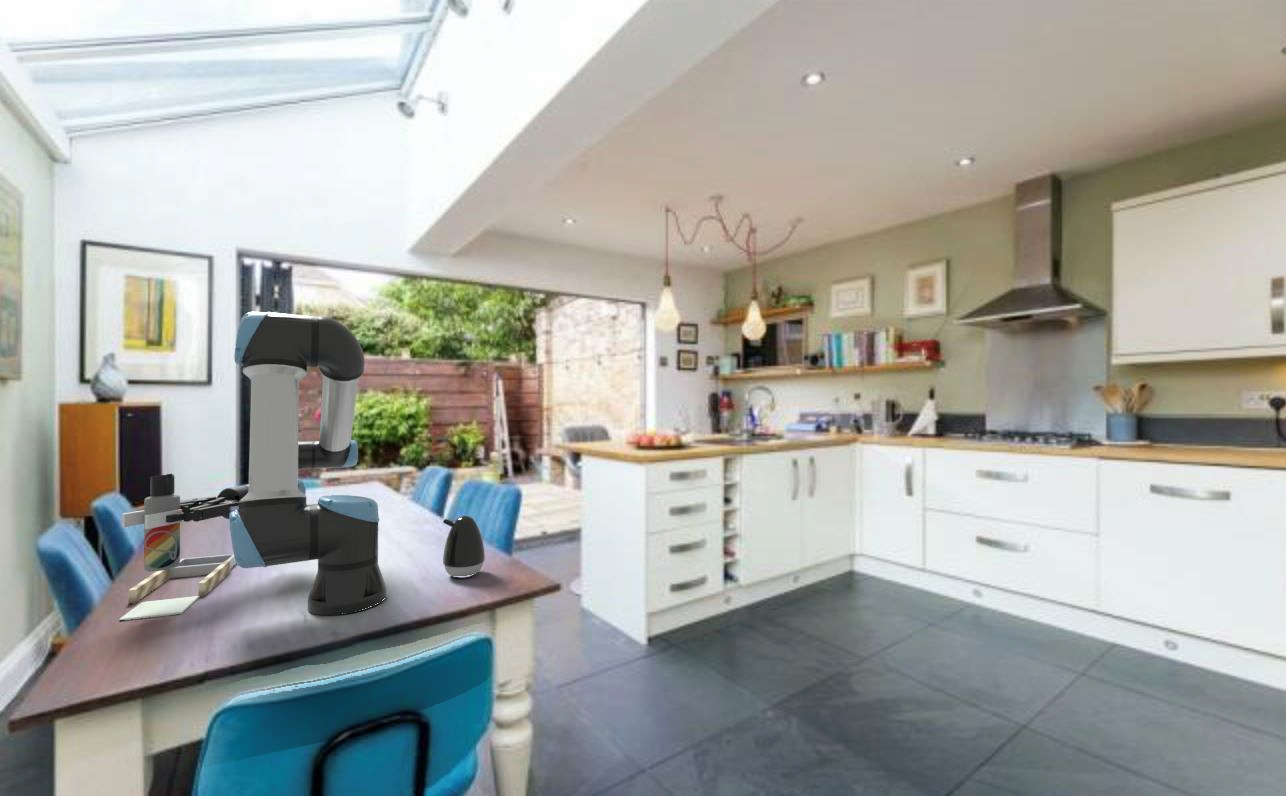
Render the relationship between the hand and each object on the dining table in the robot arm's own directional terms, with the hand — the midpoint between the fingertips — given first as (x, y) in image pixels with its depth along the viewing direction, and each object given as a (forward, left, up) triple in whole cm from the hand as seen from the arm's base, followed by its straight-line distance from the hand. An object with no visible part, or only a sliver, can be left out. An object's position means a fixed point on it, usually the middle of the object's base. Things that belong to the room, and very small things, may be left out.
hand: (135, 521), depth 109 cm
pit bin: (+33, -2, -20) cm, 38 cm away
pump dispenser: (+3, -64, -20) cm, 67 cm away
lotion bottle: (+4, -3, -11) cm, 12 cm away
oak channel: (+19, -2, -20) cm, 28 cm away
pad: (+4, -3, -20) cm, 20 cm away
